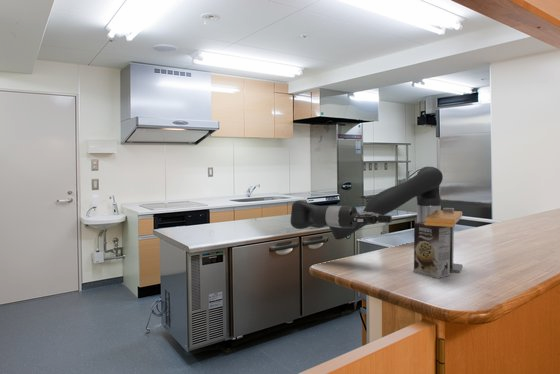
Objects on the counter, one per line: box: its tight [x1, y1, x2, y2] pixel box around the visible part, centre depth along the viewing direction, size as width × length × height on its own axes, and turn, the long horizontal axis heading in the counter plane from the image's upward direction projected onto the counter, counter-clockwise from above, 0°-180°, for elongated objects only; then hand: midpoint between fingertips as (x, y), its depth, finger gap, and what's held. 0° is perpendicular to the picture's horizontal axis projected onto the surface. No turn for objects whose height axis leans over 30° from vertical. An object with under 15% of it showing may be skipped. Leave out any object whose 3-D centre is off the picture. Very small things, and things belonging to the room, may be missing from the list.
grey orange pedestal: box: [425, 207, 463, 274], centre depth 119 cm, size 8×22×20 cm, turn 148°
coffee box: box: [413, 221, 451, 279], centre depth 119 cm, size 9×6×16 cm
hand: (391, 219), depth 122 cm, fingers closed
